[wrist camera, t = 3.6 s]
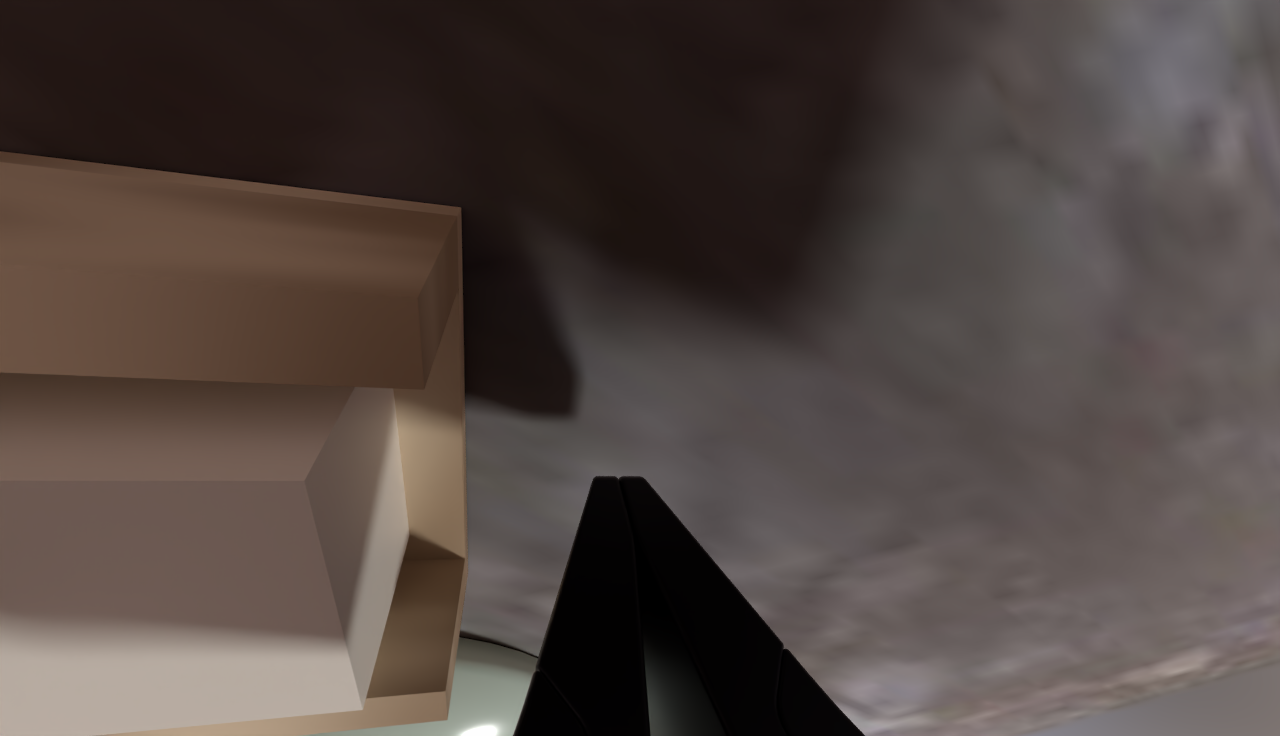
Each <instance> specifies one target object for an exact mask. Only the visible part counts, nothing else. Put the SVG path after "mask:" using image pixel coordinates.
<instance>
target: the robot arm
mask: <svg viewBox="0 0 1280 736" xmlns="http://www.w3.org/2000/svg"><path fill="white" fill-rule="evenodd" d="M783 648H784V645H783V643H782V642H781V641H780V639H779V638H778V637H777V636H776V635H775V633H774V632H773V631H772V630H771V629H770V627H769V626H768V625H767V624H766V623H765V621H764V620H763V619H762V618H761V617H760V616H759V614H758V613H757V612H756V611H755V610H754V608H753V607H752V606H751V605H750V604H749V602H748V601H747V600H746V599H745V598H744V596H743V595H742V594H741V593H740V592H739V590H738V589H737V588H736V587H735V586H734V584H733V583H732V582H731V581H730V580H729V579H728V577H727V576H726V575H725V574H724V573H723V571H722V570H721V569H720V568H719V567H718V565H717V564H716V563H715V562H714V561H713V559H712V558H711V557H710V556H709V555H708V553H707V552H706V551H705V550H704V549H703V547H702V546H701V545H700V544H699V543H698V542H697V540H696V539H695V538H694V537H693V536H692V534H691V533H690V532H689V531H688V530H687V528H686V527H685V526H684V525H683V524H682V522H681V521H680V520H679V519H678V518H677V516H676V515H675V514H674V513H673V512H672V510H671V509H670V508H669V507H668V506H667V505H666V503H665V502H664V501H663V500H662V499H661V497H660V496H659V495H658V494H657V493H656V491H655V490H654V489H653V488H652V487H651V485H650V484H649V483H648V482H647V481H646V480H645V479H644V478H643V477H640V476H622V477H620V478H619V479H618V478H617V477H615V476H597V477H594V479H593V481H592V484H591V487H590V490H589V494H588V497H587V500H586V503H585V507H584V510H583V513H582V516H581V520H580V523H579V526H578V530H577V533H576V536H575V539H574V543H573V546H572V549H571V552H570V556H569V559H568V562H567V565H566V569H565V572H564V575H563V579H562V582H561V585H560V588H559V592H558V595H557V598H556V601H555V605H554V608H553V611H552V614H551V618H550V621H549V624H548V627H547V631H546V634H545V637H544V641H543V644H542V647H541V650H540V654H539V657H538V660H537V663H536V668H535V672H534V673H533V675H532V679H531V682H530V685H529V688H528V692H527V695H526V698H525V702H524V705H523V708H522V711H521V713H520V716H519V719H518V722H517V725H516V728H515V731H514V734H513V736H865V735H864V734H863V733H862V732H861V731H860V730H859V729H858V728H857V727H856V726H855V725H854V724H853V723H852V721H851V720H850V719H849V718H848V717H847V716H846V715H845V714H844V713H843V712H842V711H841V710H840V709H839V708H838V707H837V706H836V704H835V703H834V702H833V701H832V700H831V699H830V698H829V696H828V695H827V694H826V693H825V692H824V691H823V690H822V688H821V687H820V686H819V685H818V684H817V683H816V682H815V680H814V679H813V678H812V677H811V676H810V675H809V674H808V672H807V671H806V670H805V669H804V668H803V667H802V665H801V664H800V663H799V662H798V661H797V659H796V658H795V657H794V656H793V655H792V653H791V652H790V651H789V650H788V649H784V650H783Z"/></svg>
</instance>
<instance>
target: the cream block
mask: <svg viewBox="0 0 1280 736" xmlns="http://www.w3.org/2000/svg"><path fill="white" fill-rule="evenodd" d="M408 539H409V527H408V518H407V509H406V500H405V491H404V481H403V472H402V463H401V454H400V445H399V436H398V427H397V418H396V409H395V400H394V391H393V388H369V387H345V386H320V385H296V384H271V383H247V382H222V381H198V380H173V379H149V378H124V377H100V376H75V375H51V374H26V373H2V372H0V736H96V735H107V734H117V733H128V732H138V731H148V730H159V729H169V728H180V727H190V726H201V725H211V724H222V723H232V722H242V721H253V720H263V719H274V718H284V717H295V716H305V715H315V714H326V713H336V712H347V711H357V710H363V707H364V704H365V700H366V696H367V692H368V689H369V685H370V681H371V677H372V674H373V670H374V666H375V662H376V659H377V655H378V651H379V647H380V644H381V640H382V636H383V632H384V629H385V625H386V621H387V618H388V614H389V610H390V606H391V603H392V599H393V595H394V591H395V588H396V584H397V580H398V576H399V573H400V569H401V565H402V561H403V558H404V554H405V550H406V546H407V543H408Z"/></svg>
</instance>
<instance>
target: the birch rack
mask: <svg viewBox="0 0 1280 736" xmlns="http://www.w3.org/2000/svg"><path fill="white" fill-rule="evenodd" d="M0 372H2V373H26V374H51V375H75V376H100V377H124V378H149V379H173V380H198V381H222V382H247V383H271V384H296V385H320V386H345V387H369V388H393V391H394V400H395V409H396V418H397V427H398V436H399V445H400V454H401V463H402V472H403V481H404V491H405V500H406V509H407V518H408V527H409V539H408V543H407V546H406V550H405V554H404V558H403V561H402V565H401V569H400V573H399V576H398V580H397V584H396V588H395V591H394V595H393V599H392V603H391V606H390V610H389V614H388V618H387V621H386V625H385V629H384V632H383V636H382V640H381V644H380V647H379V651H378V655H377V659H376V662H375V666H374V670H373V674H372V677H371V681H370V685H369V689H368V692H367V696H366V700H365V704H364V707H363V710H357V711H347V712H336V713H326V714H315V715H305V716H295V717H284V718H274V719H263V720H253V721H242V722H232V723H222V724H211V725H201V726H190V727H180V728H169V729H159V730H148V731H138V732H128V733H117V734H107V735H96V736H299V735H309V734H318V733H328V732H338V731H347V730H357V729H367V728H376V727H386V726H395V725H405V724H415V723H424V722H434V721H444V720H448V713H449V706H450V699H451V691H452V684H453V677H454V670H455V662H456V655H457V648H458V641H459V634H460V626H461V619H462V612H463V605H464V597H465V590H466V583H467V576H468V543H467V489H466V434H465V380H464V326H463V272H462V218H461V207H453V206H445V205H437V204H429V203H421V202H412V201H404V200H396V199H388V198H380V197H371V196H363V195H355V194H347V193H339V192H330V191H322V190H314V189H306V188H298V187H289V186H281V185H273V184H265V183H257V182H248V181H240V180H232V179H224V178H216V177H207V176H199V175H191V174H183V173H175V172H166V171H158V170H150V169H142V168H134V167H125V166H117V165H109V164H101V163H93V162H84V161H76V160H68V159H60V158H52V157H43V156H35V155H27V154H19V153H11V152H2V151H0Z"/></svg>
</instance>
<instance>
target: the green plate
mask: <svg viewBox="0 0 1280 736" xmlns="http://www.w3.org/2000/svg"><path fill="white" fill-rule="evenodd" d="M537 660H538V658H535V657H533V656H530V655H528V654H525V653H523V652H520V651H517V650H513V649H509V648H506V647H502V646H499V645H495V644H492V643H487V642H482V641H477V640H472V639H466V638H461V637H459V641H458V648H457V655H456V662H455V670H454V677H453V684H452V691H451V699H450V706H449V713H448V720H444V721H434V722H424V723H415V724H405V725H395V726H386V727H376V728H367V729H357V730H347V731H338V732H328V733H318V734H309V735H299V736H513V734H514V731H515V728H516V725H517V722H518V719H519V716H520V713H521V711H522V708H523V705H524V702H525V698H526V695H527V692H528V688H529V685H530V682H531V679H532V675H533V673H534V672H535V668H536V663H537Z"/></svg>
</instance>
